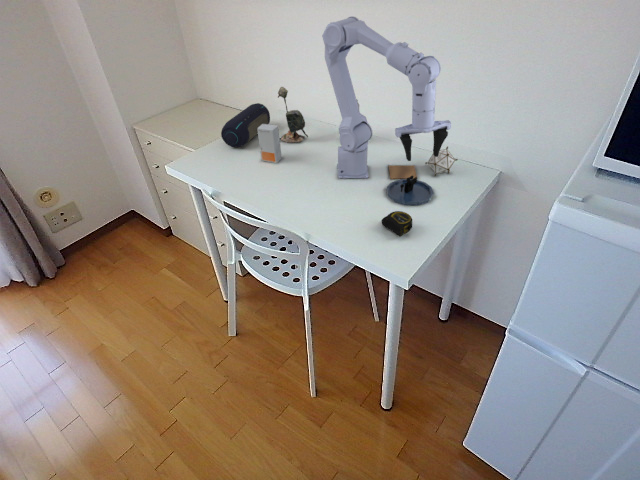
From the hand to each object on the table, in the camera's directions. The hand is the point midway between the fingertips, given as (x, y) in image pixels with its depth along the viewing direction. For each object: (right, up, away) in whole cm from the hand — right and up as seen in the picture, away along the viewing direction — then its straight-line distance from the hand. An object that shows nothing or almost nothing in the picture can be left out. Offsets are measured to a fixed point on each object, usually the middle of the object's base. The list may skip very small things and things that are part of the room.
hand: (422, 157), depth 111 cm
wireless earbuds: (-2, -9, +7) cm, 11 cm away
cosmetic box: (-45, +5, +28) cm, 53 cm away
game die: (+10, -2, +16) cm, 19 cm away
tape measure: (-8, -21, -7) cm, 23 cm away
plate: (-2, -9, +7) cm, 12 cm away
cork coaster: (-2, -1, +17) cm, 17 cm away
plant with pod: (-38, +15, +40) cm, 57 cm away
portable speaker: (-56, +17, +43) cm, 73 cm away
